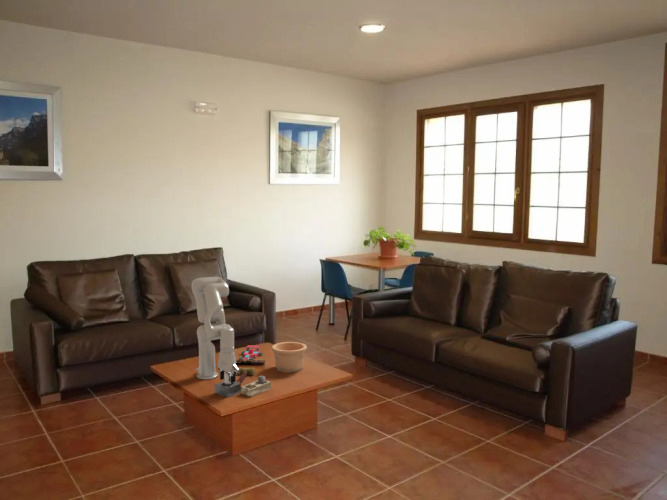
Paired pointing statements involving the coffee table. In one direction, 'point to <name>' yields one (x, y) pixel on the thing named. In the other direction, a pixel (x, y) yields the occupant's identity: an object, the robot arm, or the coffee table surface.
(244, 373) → the gavel
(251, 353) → the race car
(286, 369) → the pottery
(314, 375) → the coffee table surface
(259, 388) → the rack
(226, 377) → the silver metal cylinder
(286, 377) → the coffee table surface
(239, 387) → the socket
